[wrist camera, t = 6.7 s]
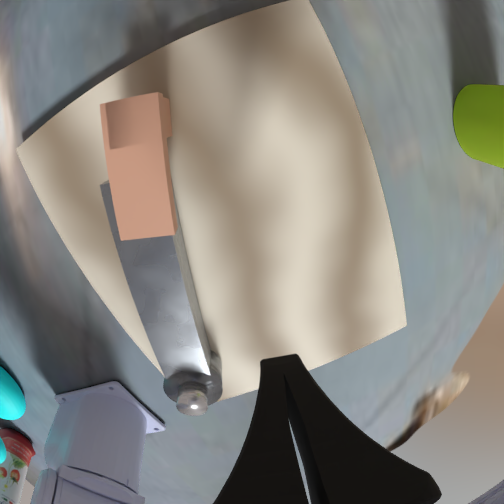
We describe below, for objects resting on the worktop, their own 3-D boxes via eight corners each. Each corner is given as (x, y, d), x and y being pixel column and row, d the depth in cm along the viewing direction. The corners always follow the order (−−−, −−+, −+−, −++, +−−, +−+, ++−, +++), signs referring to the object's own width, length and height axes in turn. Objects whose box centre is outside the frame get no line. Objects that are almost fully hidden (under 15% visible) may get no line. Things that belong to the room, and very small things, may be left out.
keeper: (185, 207, 16) (174, 234, 13) (142, 212, 16) (120, 240, 13) (174, 98, 14) (157, 92, 10) (128, 106, 14) (99, 104, 10)
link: (226, 379, 22) (228, 421, 18) (176, 383, 22) (171, 424, 18) (177, 161, 15) (163, 175, 11) (108, 176, 15) (77, 195, 11)
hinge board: (194, 399, 24) (194, 407, 24) (24, 147, 14) (15, 149, 13) (401, 318, 23) (406, 325, 22) (302, 2, 13) (306, -4, 12)
